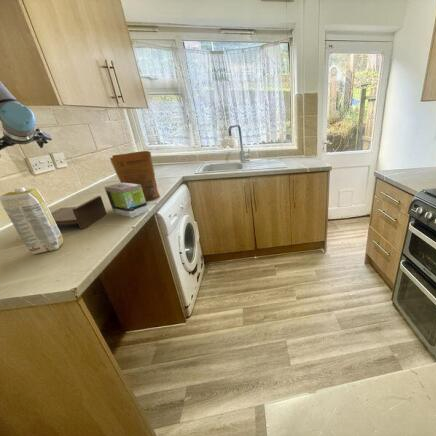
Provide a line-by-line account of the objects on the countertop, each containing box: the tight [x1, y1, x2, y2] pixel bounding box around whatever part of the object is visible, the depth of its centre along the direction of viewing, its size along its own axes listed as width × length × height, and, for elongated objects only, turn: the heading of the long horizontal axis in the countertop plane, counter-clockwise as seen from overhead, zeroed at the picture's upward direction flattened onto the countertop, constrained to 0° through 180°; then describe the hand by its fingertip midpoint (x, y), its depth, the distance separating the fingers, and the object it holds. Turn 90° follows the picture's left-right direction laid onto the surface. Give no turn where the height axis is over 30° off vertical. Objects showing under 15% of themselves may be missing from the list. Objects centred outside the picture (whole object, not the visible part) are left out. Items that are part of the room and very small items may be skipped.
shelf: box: [50, 195, 108, 231], centre depth 114 cm, size 20×18×10 cm
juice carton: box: [0, 186, 64, 255], centre depth 89 cm, size 9×8×24 cm
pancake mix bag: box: [109, 150, 161, 202], centre depth 138 cm, size 7×19×28 cm, turn 116°
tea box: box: [104, 182, 149, 219], centre depth 123 cm, size 15×10×15 cm, turn 63°
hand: (19, 149), depth 101 cm, fingers open, 13 cm apart
